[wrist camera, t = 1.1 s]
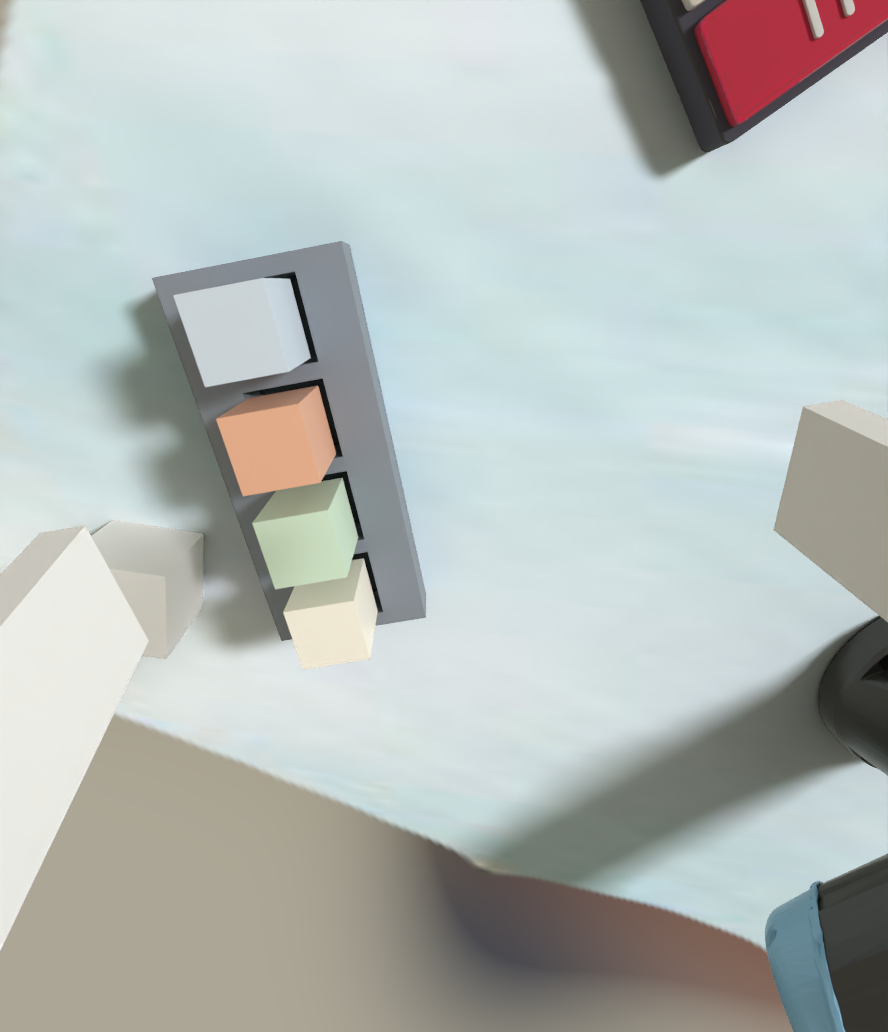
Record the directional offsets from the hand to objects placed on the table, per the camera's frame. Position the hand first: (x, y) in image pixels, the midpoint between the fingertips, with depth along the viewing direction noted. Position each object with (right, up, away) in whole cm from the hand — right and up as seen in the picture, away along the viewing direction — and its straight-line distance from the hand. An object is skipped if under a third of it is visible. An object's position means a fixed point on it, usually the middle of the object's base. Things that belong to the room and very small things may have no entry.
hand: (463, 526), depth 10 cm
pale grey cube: (-20, -3, +28) cm, 34 cm away
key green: (-8, 0, +23) cm, 24 cm away
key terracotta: (-9, +5, +21) cm, 23 cm away
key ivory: (-7, -5, +25) cm, 26 cm away
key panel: (-9, +4, +25) cm, 26 cm away
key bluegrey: (-10, +10, +18) cm, 23 cm away
